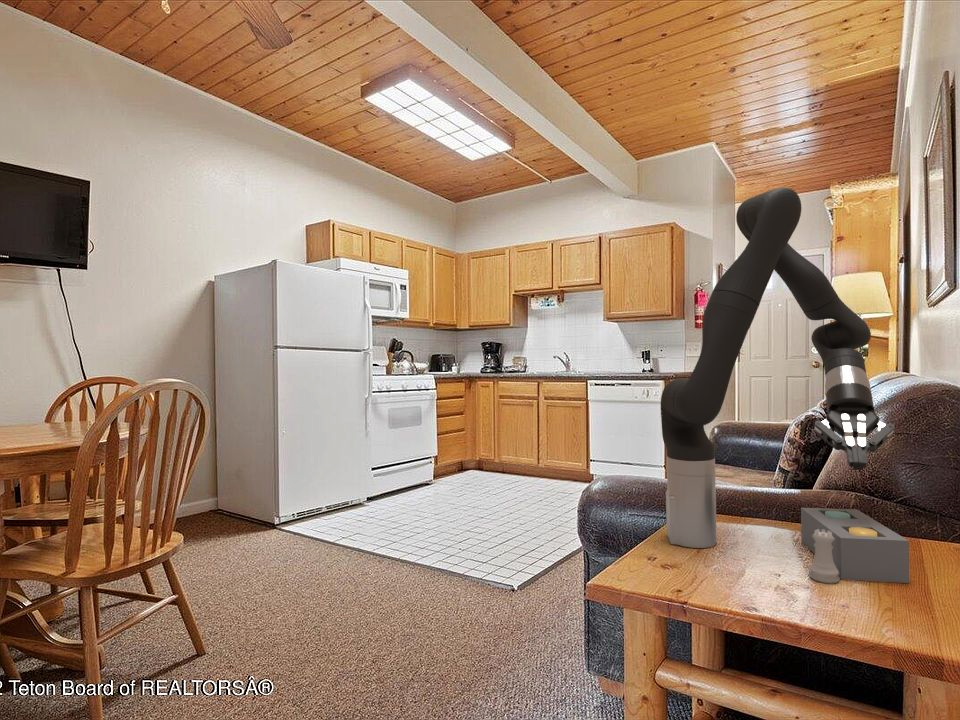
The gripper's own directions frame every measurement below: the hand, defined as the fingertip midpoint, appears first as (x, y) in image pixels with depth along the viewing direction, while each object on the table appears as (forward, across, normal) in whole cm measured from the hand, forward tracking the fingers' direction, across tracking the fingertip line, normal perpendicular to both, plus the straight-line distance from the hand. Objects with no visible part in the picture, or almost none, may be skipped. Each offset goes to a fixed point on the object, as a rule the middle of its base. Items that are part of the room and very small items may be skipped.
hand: (858, 467), depth 97 cm
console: (+11, -1, +13) cm, 18 cm away
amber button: (+12, 0, +7) cm, 14 cm away
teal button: (+5, -3, +14) cm, 15 cm away
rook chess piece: (+19, -6, +6) cm, 21 cm away
